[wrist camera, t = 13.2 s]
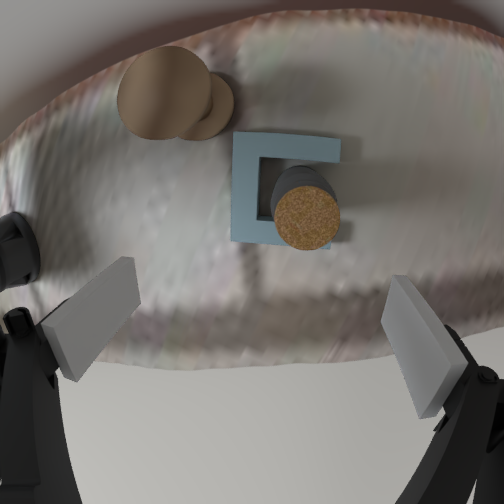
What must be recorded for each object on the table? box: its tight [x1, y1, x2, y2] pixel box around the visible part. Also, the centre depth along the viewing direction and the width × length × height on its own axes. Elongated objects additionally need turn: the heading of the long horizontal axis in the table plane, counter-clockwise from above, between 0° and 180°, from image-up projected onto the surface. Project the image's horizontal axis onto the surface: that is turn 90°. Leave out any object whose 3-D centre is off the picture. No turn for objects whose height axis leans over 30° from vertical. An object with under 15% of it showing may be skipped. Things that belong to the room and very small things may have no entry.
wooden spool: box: [117, 46, 234, 141], centre depth 26 cm, size 9×9×11 cm
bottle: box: [271, 166, 340, 250], centre depth 27 cm, size 6×6×15 cm
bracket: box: [231, 132, 341, 249], centre depth 33 cm, size 12×13×2 cm
